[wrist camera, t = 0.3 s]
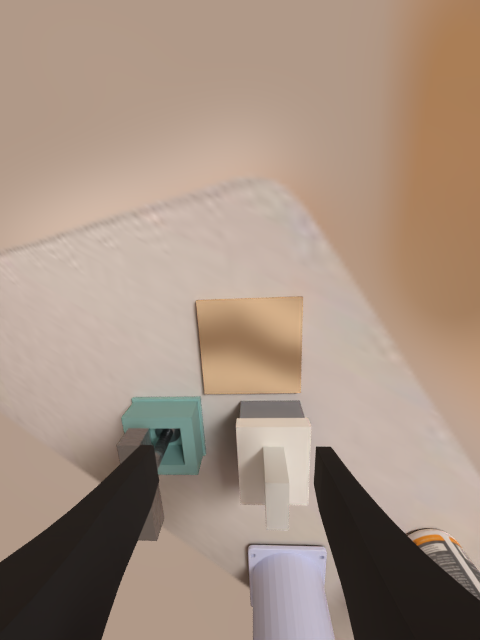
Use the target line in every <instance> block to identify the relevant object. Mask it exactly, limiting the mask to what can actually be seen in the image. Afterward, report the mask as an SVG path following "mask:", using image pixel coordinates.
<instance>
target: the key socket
mask: <svg viewBox="0 0 480 640" xmlns="http://www.w3.org/2000/svg"><path fill="white" fill-rule="evenodd" d="M121 419H122V424H123V429H124V434H125V433H126V431H127V430H128V428H149V432H150V438H151V443H152V445H154V446H155V444H156V442H157V440H158V437H157V435H156V433H155V429H157V428H180V431H181V434H180V437H179V438H178V440H176V441H175V442H171V443H169V445H168V447H167V450H166V452H165V454H164V457H163V459H162V461H161V463H160V466H159V468H158V474H163V475H198V473H199V469H200V465H201V461H202V456H205V455H206V447H205V438H204V428H203V418H202V408H201V398H200V397H133V398H132V405H131V406H130V407H129V409H128V410H127V411H126V412H125V414H124V415H123V416H122V418H121Z"/></svg>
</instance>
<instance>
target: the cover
mask: <svg viewBox="0 0 480 640" xmlns="http://www.w3.org/2000/svg"><path fill="white" fill-rule="evenodd" d="M236 438H237V455H238V472H239V489H240V504H244V505H265V515H266V530H289V505H308V496H309V471H310V446H311V425H310V422H309V419H308V418H237V421H236Z"/></svg>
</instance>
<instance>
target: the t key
mask: <svg viewBox="0 0 480 640" xmlns="http://www.w3.org/2000/svg"><path fill="white" fill-rule="evenodd" d="M155 433H156V435H157V437H158V440H157V442H156V444H155V446H154V450H155V457H156V463H157V470H158V468H159V466H160V463H161V461H162V459H163V457H164V454H165V452H166V450H167V447H168V445H169V443H171V442H175V441H176V440H178V438H179V437H180V434H181V431H180V428H157V429H155ZM140 445H152V443H151V438H150V432H149V428H128V430H127V431H126V433H125V434H124V435H123V437H122V438H121V440H120V441H119V443H118V444H117V445H116V446H117V450H118V455H119V459H120V464H121V463H122V462H123V461H124V460H125V459H126V458H127V457H128V456H129V455H130V454H131V453H132V452H134V451H135V450H136V449H137V448H138V447H139V446H140ZM163 521H164V513H163V507H162V501H161V496H160V490H159V484H158V487H157V490H156V494H155V497H154V500H153V503H152V507H151V509H150V512H149V514H148V517H147V519H146V522H145V524H144V526H143V529H142V531H141V534H140V536H139V538H138V540H149V541H157V539H158V536H159V533H160V530H161V527H162V524H163Z"/></svg>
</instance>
